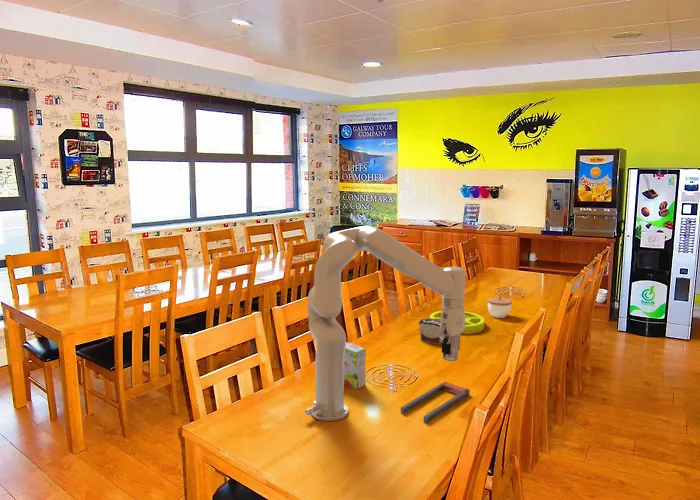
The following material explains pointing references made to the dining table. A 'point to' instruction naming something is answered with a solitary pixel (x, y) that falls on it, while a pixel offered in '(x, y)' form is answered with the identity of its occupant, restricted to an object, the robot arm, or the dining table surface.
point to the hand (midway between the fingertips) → (450, 350)
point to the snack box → (354, 366)
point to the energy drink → (452, 348)
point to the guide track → (445, 386)
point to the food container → (430, 330)
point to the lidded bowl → (499, 307)
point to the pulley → (466, 322)
